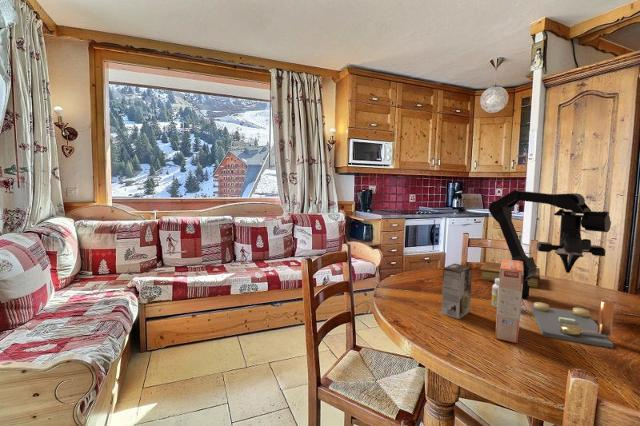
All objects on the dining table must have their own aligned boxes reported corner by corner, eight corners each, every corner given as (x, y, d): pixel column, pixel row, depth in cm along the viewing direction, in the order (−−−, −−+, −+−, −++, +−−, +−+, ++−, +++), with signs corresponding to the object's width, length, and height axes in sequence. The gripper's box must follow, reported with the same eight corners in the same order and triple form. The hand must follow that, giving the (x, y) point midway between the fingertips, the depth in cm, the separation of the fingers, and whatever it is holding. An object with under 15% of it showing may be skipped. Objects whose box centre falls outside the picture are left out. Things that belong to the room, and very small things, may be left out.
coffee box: (452, 307, 118) (454, 263, 117) (470, 312, 114) (472, 266, 112) (440, 314, 112) (442, 267, 110) (459, 319, 107) (461, 271, 106)
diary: (538, 279, 156) (539, 267, 155) (538, 290, 140) (540, 277, 140) (484, 271, 168) (485, 260, 168) (479, 280, 153) (480, 268, 152)
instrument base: (542, 336, 96) (543, 326, 96) (531, 308, 117) (531, 300, 117) (613, 348, 89) (614, 338, 89) (587, 316, 111) (587, 308, 110)
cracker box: (519, 344, 91) (523, 270, 89) (494, 339, 94) (498, 267, 92) (519, 326, 102) (524, 260, 101) (498, 322, 106) (501, 258, 104)
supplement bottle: (509, 305, 120) (511, 279, 119) (505, 309, 116) (507, 282, 115) (493, 301, 124) (495, 276, 123) (489, 305, 120) (490, 279, 119)
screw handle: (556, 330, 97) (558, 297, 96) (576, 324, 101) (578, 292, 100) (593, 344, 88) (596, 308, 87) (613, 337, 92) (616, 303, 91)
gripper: (542, 230, 112) (539, 274, 114) (612, 233, 104) (609, 281, 105) (537, 226, 122) (535, 267, 124) (601, 229, 114) (598, 273, 115)
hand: (567, 272), depth 117 cm, fingers closed
